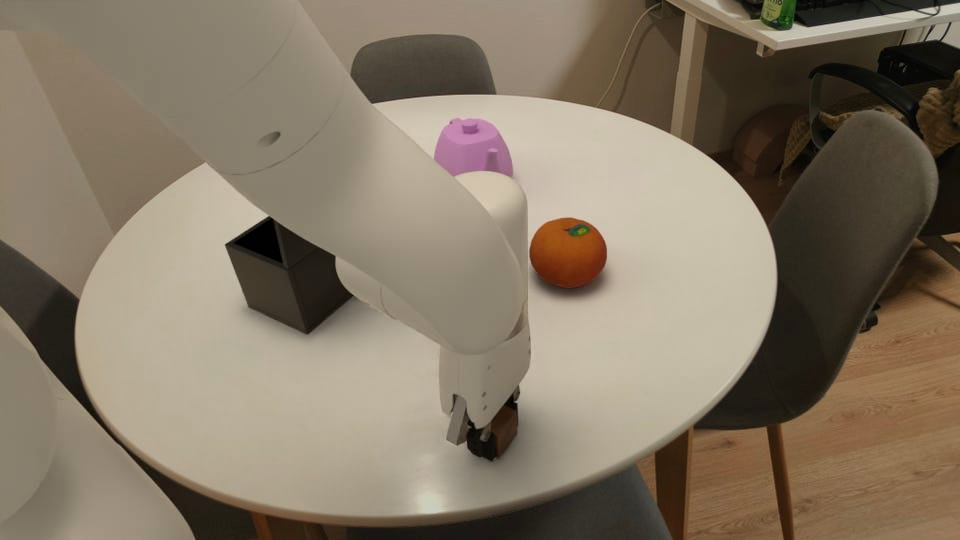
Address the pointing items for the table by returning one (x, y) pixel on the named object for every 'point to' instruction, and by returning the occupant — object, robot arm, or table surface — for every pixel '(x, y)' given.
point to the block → (504, 429)
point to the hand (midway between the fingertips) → (492, 437)
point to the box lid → (292, 245)
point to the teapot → (472, 148)
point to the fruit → (568, 252)
